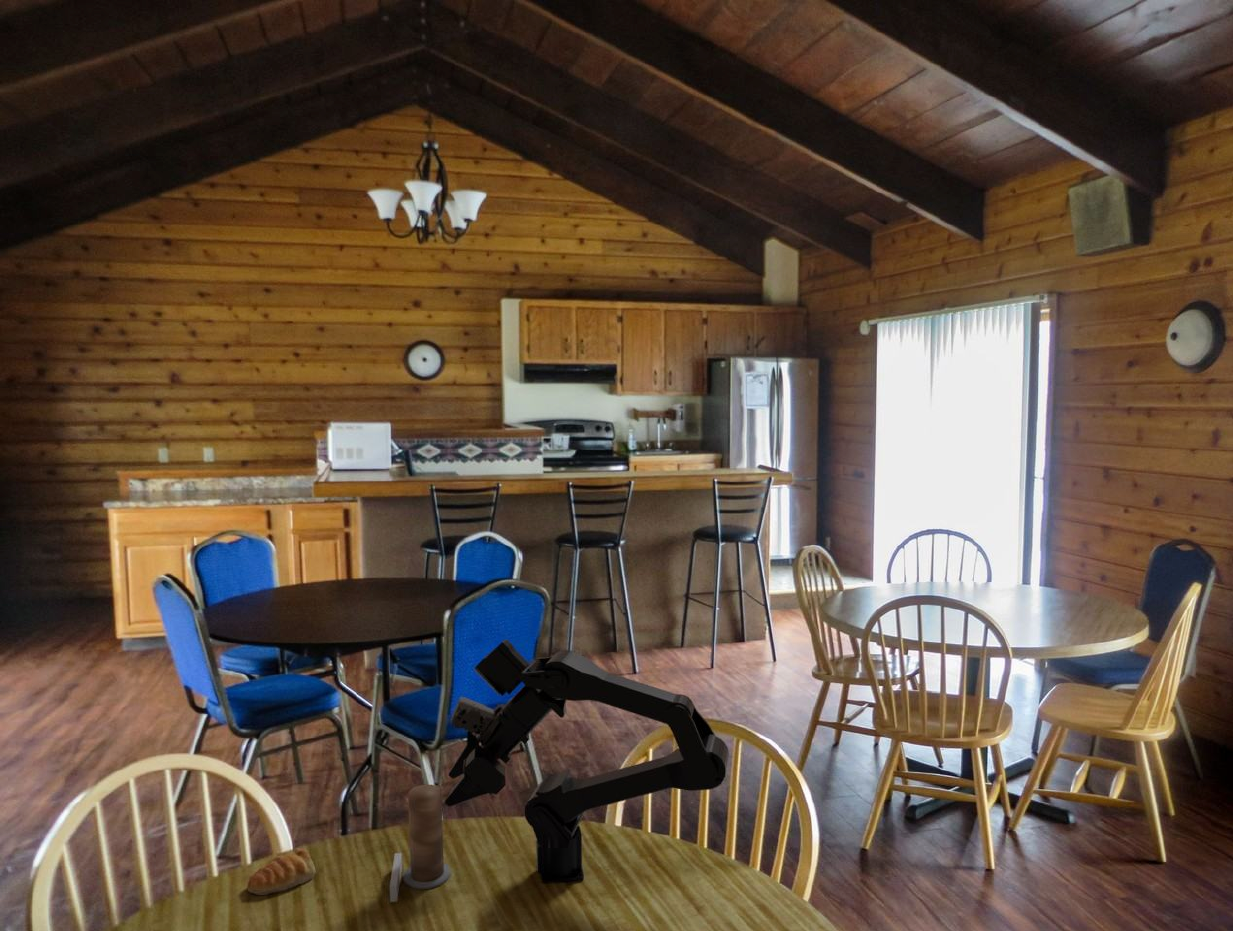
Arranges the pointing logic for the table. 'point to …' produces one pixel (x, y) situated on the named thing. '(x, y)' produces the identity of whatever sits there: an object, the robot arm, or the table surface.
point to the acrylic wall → (395, 877)
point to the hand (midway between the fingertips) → (448, 789)
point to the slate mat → (426, 885)
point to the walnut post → (426, 833)
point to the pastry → (283, 873)
